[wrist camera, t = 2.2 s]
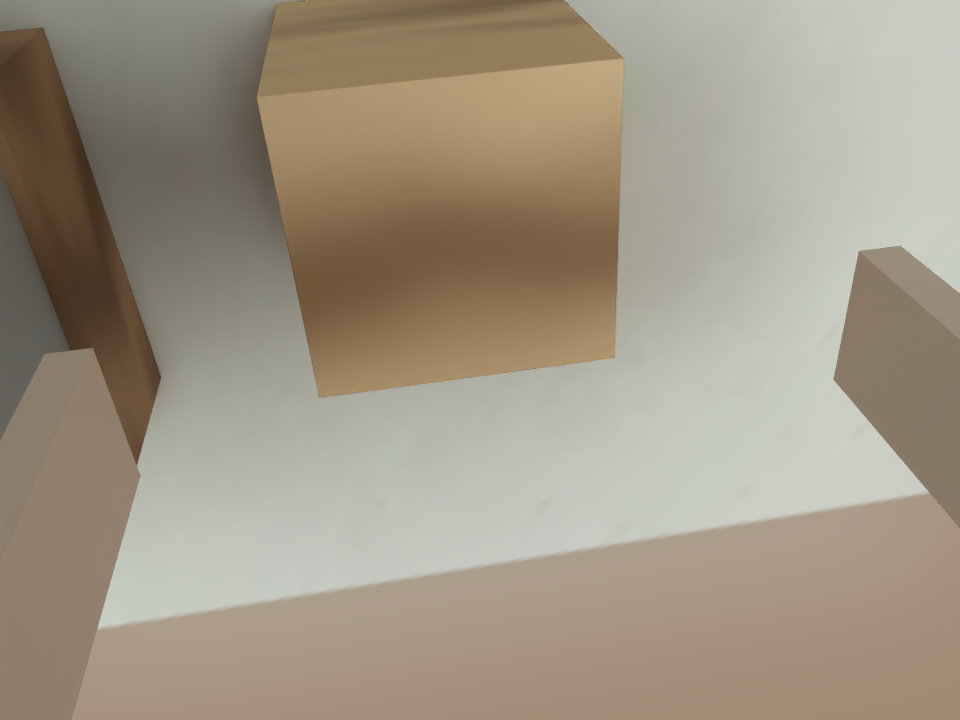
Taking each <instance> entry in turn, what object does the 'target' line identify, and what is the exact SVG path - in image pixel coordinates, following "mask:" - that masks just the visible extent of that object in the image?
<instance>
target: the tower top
mask: <svg viewBox="0 0 960 720" xmlns="http://www.w3.org/2000/svg"><path fill="white" fill-rule="evenodd" d="M64 351H71V350H70V347H69V344H68V342H67V339H66V337H65V334H64V332H63V329H62V326H61V324H60V321H59V319H58V316H57V313H56V311H55V308H54V306H53V303H52V301H51V298H50V295H49V293H48V290H47V288H46V285H45V282H44V280H43V277H42V275H41V272H40V270H39V267H38V264H37V262H36V259H35V257H34V254H33V251H32V249H31V246H30V244H29V241H28V239H27V236H26V233H25V231H24V228H23V226H22V223H21V220H20V218H19V215H18V213H17V210H16V208H15V205H14V202H13V200H12V197H11V195H10V192H9V189H8V187H7V184H6V182H5V179H4V176H3V174H2V171H1V169H0V440H1V438H2V436H3V434H4V432H5V430H6V428H7V426H8V424H9V422H10V420H11V419H12V417H13V415H14V413H15V411H16V409H17V407H18V405H19V403H20V401H21V399H22V397H23V395H24V393H25V391H26V389H27V387H28V385H29V383H30V381H31V380H32V378H33V376H34V374H35V372H36V370H37V368H38V366H39V364H40V362H41V360H42V358H43V356H44V354H48V353H56V352H64Z"/></svg>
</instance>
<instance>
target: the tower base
mask: <svg viewBox="0 0 960 720" xmlns="http://www.w3.org/2000/svg"><path fill="white" fill-rule="evenodd" d="M0 169H1V171H2V174H3V176H4V179H5V182H6V184H7V187H8V189H9V192H10V195H11V197H12V200H13V202H14V205H15V208H16V210H17V213H18V215H19V218H20V220H21V223H22V226H23V228H24V231H25V233H26V236H27V239H28V241H29V244H30V246H31V249H32V251H33V254H34V257H35V259H36V262H37V264H38V267H39V270H40V272H41V275H42V277H43V280H44V282H45V285H46V288H47V290H48V293H49V295H50V298H51V301H52V303H53V306H54V308H55V311H56V313H57V316H58V319H59V321H60V324H61V326H62V329H63V332H64V334H65V337H66V339H67V342H68V344H69V347H70V350H71V351H72V350H80V349H88V348H93V350H94V352H95V355H96V358H97V360H98V363H99V366H100V369H101V371H102V374H103V377H104V379H105V382H106V385H107V387H108V390H109V393H110V395H111V398H112V401H113V404H114V406H115V409H116V412H117V414H118V417H119V420H120V422H121V425H122V428H123V430H124V433H125V436H126V439H127V441H128V444H129V447H130V449H131V452H132V455H133V457H134V460H135V463H136V465H137V463H138V459H139V455H140V452H141V448H142V445H143V441H144V437H145V434H146V430H147V426H148V423H149V419H150V415H151V412H152V408H153V405H154V401H155V397H156V394H157V390H158V386H159V383H160V379H161V376H160V373H159V370H158V367H157V364H156V361H155V358H154V355H153V352H152V349H151V346H150V343H149V340H148V337H147V334H146V331H145V328H144V325H143V322H142V319H141V316H140V313H139V311H138V308H137V305H136V302H135V299H134V296H133V293H132V290H131V287H130V284H129V281H128V278H127V275H126V272H125V269H124V266H123V263H122V260H121V257H120V254H119V251H118V248H117V245H116V242H115V239H114V236H113V233H112V230H111V227H110V224H109V222H108V219H107V216H106V213H105V210H104V207H103V204H102V201H101V198H100V195H99V192H98V189H97V186H96V183H95V180H94V177H93V174H92V171H91V168H90V165H89V162H88V159H87V156H86V153H85V150H84V147H83V144H82V141H81V138H80V136H79V133H78V130H77V127H76V124H75V121H74V118H73V115H72V112H71V109H70V106H69V103H68V100H67V97H66V94H65V91H64V88H63V85H62V82H61V79H60V76H59V73H58V70H57V67H56V64H55V61H54V58H53V55H52V52H51V50H50V47H49V44H48V41H47V38H46V35H45V32H44V29H43V28H34V29H24V30H14V31H4V32H0Z"/></svg>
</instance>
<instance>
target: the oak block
mask: <svg viewBox="0 0 960 720" xmlns="http://www.w3.org/2000/svg"><path fill="white" fill-rule="evenodd" d="M623 70H624V58H623V57H622V56H621V55H620V54H619V53H618V52H617V51H616V50H615V49H614V48H613V47H612V46H611V45H610V44H609V43H607V42H606V41H605V40H604V39H603V38H602V37H601V36H600V35H599V34H598V33H597V32H596V31H595V30H594V29H593V28H592V27H591V26H590V25H589V24H588V23H587V22H586V21H585V20H584V19H583V18H582V17H581V16H580V15H579V14H577V13H576V12H575V11H574V10H573V9H572V8H571V7H570V6H569V5H568V4H567V3H566V2H565V1H564V0H308V1H298V2H288V3H277V5H276V10H275V14H274V19H273V24H272V28H271V33H270V37H269V42H268V47H267V51H266V56H265V61H264V65H263V70H262V74H261V79H260V84H259V88H258V93H257V102H258V107H259V111H260V116H261V121H262V126H263V131H264V135H265V140H266V145H267V150H268V154H269V159H270V164H271V169H272V174H273V178H274V183H275V188H276V193H277V198H278V202H279V207H280V212H281V217H282V221H283V226H284V231H285V236H286V241H287V245H288V250H289V255H290V260H291V265H292V269H293V274H294V279H295V284H296V288H297V293H298V298H299V303H300V308H301V312H302V317H303V322H304V327H305V332H306V336H307V341H308V346H309V351H310V355H311V360H312V365H313V370H314V375H315V379H316V384H317V389H318V394H319V398H322V397H329V396H337V395H344V394H351V393H359V392H366V391H374V390H381V389H388V388H396V387H403V386H410V385H418V384H425V383H433V382H440V381H447V380H455V379H462V378H469V377H477V376H484V375H492V374H499V373H506V372H514V371H521V370H528V369H536V368H543V367H551V366H558V365H565V364H573V363H580V362H588V361H595V360H602V359H610V358H614V357H615V325H616V293H617V261H618V229H619V197H620V166H621V134H622V102H623Z"/></svg>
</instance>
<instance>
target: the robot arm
mask: <svg viewBox="0 0 960 720" xmlns="http://www.w3.org/2000/svg"><path fill="white" fill-rule="evenodd" d="M834 381H835V382H836V383H837V384H838V385H839V386H840V388H841V389H842V390H843V391H844V392H845V394H846V395H847V396H848V397H849V398H850V399H851V401H852V402H853V403H854V404H855V405H856V406H857V408H858V409H859V410H860V411H861V412H862V414H863V415H864V416H865V417H866V418H867V419H868V421H869V422H870V423H871V424H872V425H873V426H874V428H875V429H876V430H877V431H878V432H879V434H880V435H881V436H882V437H883V438H884V439H885V441H886V442H887V443H888V444H889V445H890V447H891V448H892V449H893V450H894V451H895V452H896V454H897V455H898V456H899V457H900V458H901V459H902V461H903V462H904V463H905V464H906V465H907V467H908V468H909V469H910V470H911V471H912V472H913V474H914V475H915V476H916V477H917V478H918V480H919V481H920V482H921V483H922V484H923V485H924V487H925V488H926V489H927V490H928V491H929V492H930V494H931V495H932V496H933V497H934V498H935V500H936V501H937V502H938V503H939V504H940V505H941V507H942V508H943V509H944V510H945V511H946V513H947V514H948V515H949V516H950V517H951V518H952V519H953V521H954V522H955V523H956V524H957V525H958V527H959V528H960V293H958V292H957V291H956V290H955V289H953V288H952V287H951V286H950V285H948V284H947V283H946V282H945V281H943V280H942V279H941V278H940V277H939V276H937V275H936V274H935V273H934V272H932V271H931V270H930V269H929V268H927V267H926V266H925V265H924V264H922V263H921V262H920V261H919V260H917V259H916V258H915V257H914V256H912V255H911V254H910V253H909V252H907V251H906V250H905V249H904V248H902V247H901V246H895V247H887V248H879V249H871V250H863V251H859V253H858V258H857V263H856V268H855V273H854V278H853V284H852V289H851V294H850V299H849V304H848V309H847V314H846V319H845V324H844V329H843V334H842V339H841V344H840V349H839V355H838V360H837V365H836V370H835V375H834ZM139 478H140V474H139V471H138V468H137V465H136V463H135V460H134V457H133V455H132V452H131V449H130V447H129V444H128V441H127V439H126V436H125V433H124V430H123V428H122V425H121V422H120V420H119V417H118V414H117V412H116V409H115V406H114V404H113V401H112V398H111V395H110V393H109V390H108V387H107V385H106V382H105V379H104V377H103V374H102V371H101V369H100V366H99V363H98V360H97V358H96V355H95V352H94V350H93V348H88V349H80V350H72V351H64V352H56V353H48V354H44V356H43V358H42V360H41V362H40V364H39V366H38V368H37V370H36V372H35V374H34V376H33V378H32V380H31V381H30V383H29V385H28V387H27V389H26V391H25V393H24V395H23V397H22V399H21V401H20V403H19V405H18V407H17V409H16V411H15V413H14V415H13V417H12V419H11V420H10V422H9V424H8V426H7V428H6V430H5V432H4V434H3V436H2V438H1V440H0V720H71V719H72V716H73V712H74V709H75V705H76V702H77V698H78V695H79V691H80V687H81V684H82V680H83V677H84V673H85V670H86V666H87V663H88V659H89V655H90V652H91V648H92V645H93V641H94V638H95V634H96V631H97V627H98V624H99V620H100V617H101V613H102V609H103V606H104V602H105V599H106V595H107V592H108V588H109V585H110V581H111V578H112V574H113V570H114V567H115V563H116V560H117V556H118V553H119V549H120V546H121V542H122V539H123V535H124V531H125V528H126V524H127V521H128V517H129V514H130V510H131V507H132V503H133V500H134V496H135V492H136V489H137V485H138V482H139Z"/></svg>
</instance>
